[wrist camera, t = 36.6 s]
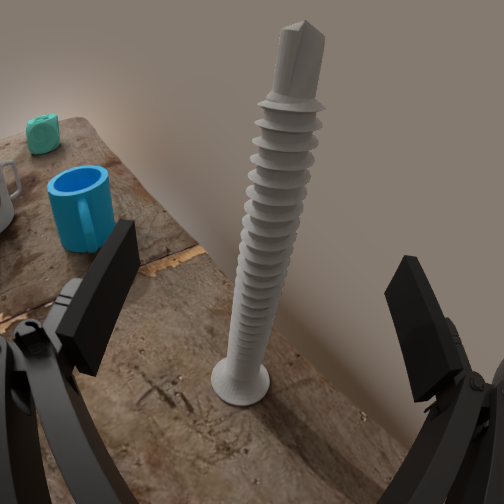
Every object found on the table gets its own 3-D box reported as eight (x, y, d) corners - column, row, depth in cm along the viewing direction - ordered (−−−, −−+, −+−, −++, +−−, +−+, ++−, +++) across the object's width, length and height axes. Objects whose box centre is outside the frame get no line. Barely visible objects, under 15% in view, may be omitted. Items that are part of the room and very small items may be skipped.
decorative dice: (60, 140, 64) (57, 111, 59) (59, 149, 59) (55, 118, 54) (33, 147, 61) (29, 119, 56) (29, 157, 56) (24, 126, 51)
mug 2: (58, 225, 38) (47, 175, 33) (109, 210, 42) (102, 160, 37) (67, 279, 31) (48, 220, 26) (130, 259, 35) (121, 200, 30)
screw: (213, 5, 7) (264, 19, 11) (201, 391, 24) (225, 348, 27) (371, 26, 6) (372, 39, 10) (257, 414, 23) (276, 368, 26)
